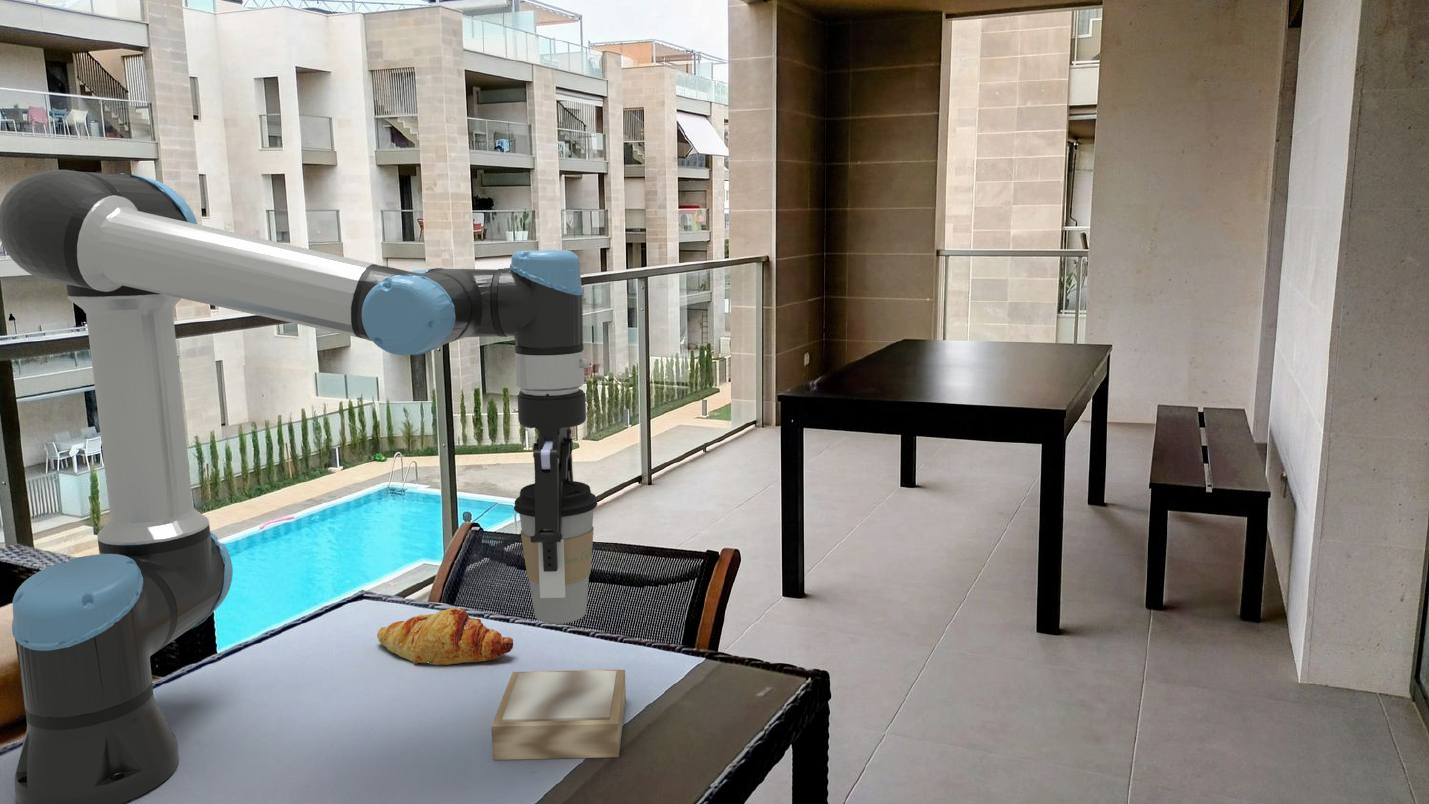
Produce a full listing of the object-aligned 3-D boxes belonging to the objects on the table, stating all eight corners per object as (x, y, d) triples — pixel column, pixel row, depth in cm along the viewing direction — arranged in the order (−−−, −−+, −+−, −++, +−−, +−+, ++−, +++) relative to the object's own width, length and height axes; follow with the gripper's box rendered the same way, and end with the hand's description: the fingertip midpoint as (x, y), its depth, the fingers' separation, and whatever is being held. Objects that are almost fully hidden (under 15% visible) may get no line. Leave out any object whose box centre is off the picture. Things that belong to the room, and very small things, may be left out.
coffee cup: (585, 632, 112) (581, 501, 109) (505, 626, 114) (499, 497, 111) (611, 601, 121) (607, 480, 118) (536, 596, 123) (531, 477, 120)
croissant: (369, 677, 142) (348, 640, 137) (401, 621, 150) (382, 584, 145) (507, 690, 137) (490, 652, 132) (532, 631, 144) (518, 594, 139)
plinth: (493, 759, 113) (491, 724, 112) (513, 701, 126) (512, 669, 126) (618, 757, 113) (617, 721, 112) (625, 699, 127) (625, 667, 126)
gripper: (574, 406, 102) (581, 616, 106) (593, 374, 124) (599, 550, 128) (499, 407, 102) (509, 618, 106) (532, 375, 124) (539, 551, 127)
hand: (558, 580), depth 117 cm, fingers closed on coffee cup, 9 cm apart
